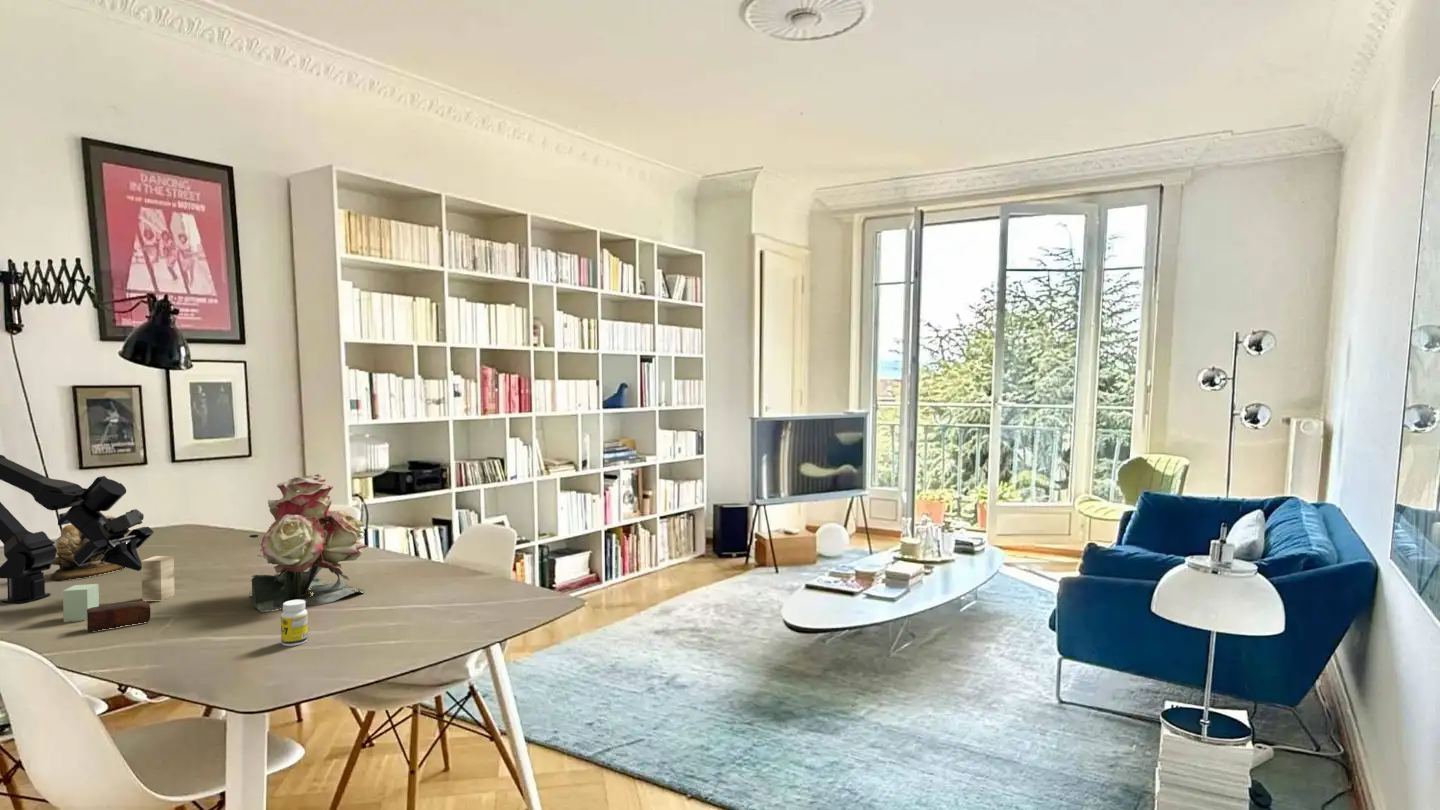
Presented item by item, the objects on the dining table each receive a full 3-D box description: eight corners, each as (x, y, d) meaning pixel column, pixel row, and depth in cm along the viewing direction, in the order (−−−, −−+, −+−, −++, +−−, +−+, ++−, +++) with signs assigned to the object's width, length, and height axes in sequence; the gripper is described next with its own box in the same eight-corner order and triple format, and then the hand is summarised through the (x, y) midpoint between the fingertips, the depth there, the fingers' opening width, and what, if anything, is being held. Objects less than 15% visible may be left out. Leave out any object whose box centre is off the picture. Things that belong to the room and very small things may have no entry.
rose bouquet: (260, 619, 166) (258, 487, 165) (242, 589, 189) (240, 473, 188) (381, 598, 183) (380, 477, 182) (351, 573, 205) (350, 466, 204)
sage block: (63, 622, 163) (62, 590, 163) (75, 615, 168) (74, 585, 167) (87, 620, 165) (87, 589, 164) (99, 614, 169) (98, 583, 169)
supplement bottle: (278, 642, 152) (278, 602, 152) (303, 636, 156) (303, 597, 155) (285, 648, 149) (284, 607, 148) (310, 642, 152) (310, 602, 152)
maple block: (142, 601, 178) (141, 560, 178) (155, 596, 183) (155, 556, 182) (161, 601, 178) (160, 560, 178) (174, 596, 183) (173, 556, 183)
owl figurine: (112, 563, 214) (111, 504, 214) (141, 567, 211) (140, 507, 210) (38, 578, 197) (38, 515, 197) (68, 583, 193) (68, 518, 193)
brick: (87, 634, 156) (87, 612, 156) (87, 629, 159) (86, 607, 159) (150, 623, 163) (150, 602, 163) (149, 619, 166) (149, 598, 166)
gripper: (84, 507, 170) (135, 555, 171) (145, 494, 189) (190, 537, 189) (50, 542, 170) (101, 589, 171) (114, 525, 189) (159, 568, 189)
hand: (140, 569), depth 180 cm, fingers closed
